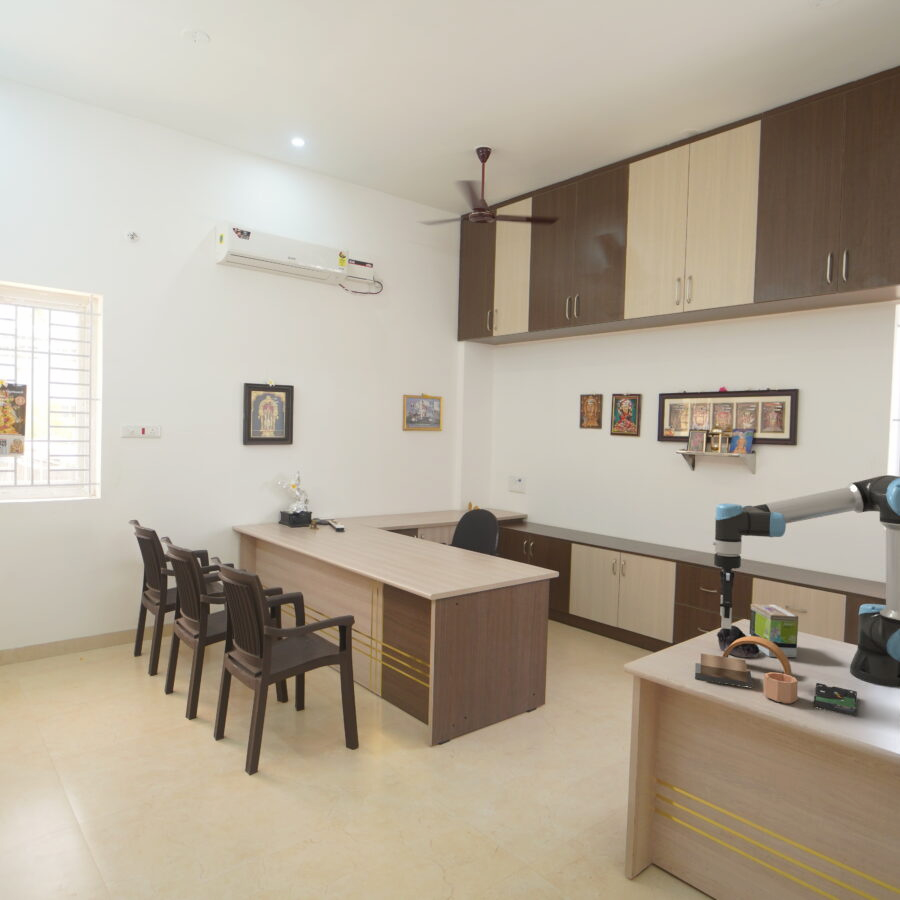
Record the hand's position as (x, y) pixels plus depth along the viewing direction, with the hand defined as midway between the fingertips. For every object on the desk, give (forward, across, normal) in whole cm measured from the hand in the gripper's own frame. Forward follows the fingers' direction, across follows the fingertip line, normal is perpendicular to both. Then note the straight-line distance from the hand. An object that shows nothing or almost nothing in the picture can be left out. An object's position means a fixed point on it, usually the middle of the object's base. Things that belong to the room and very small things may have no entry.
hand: (725, 622), depth 195 cm
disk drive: (+19, +5, +29) cm, 35 cm away
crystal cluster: (+18, -29, +5) cm, 35 cm away
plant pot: (+18, +9, +15) cm, 25 cm away
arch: (+18, -13, +10) cm, 25 cm away
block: (+18, 0, 0) cm, 18 cm away
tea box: (+18, -36, +17) cm, 44 cm away
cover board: (+16, 0, 0) cm, 16 cm away
